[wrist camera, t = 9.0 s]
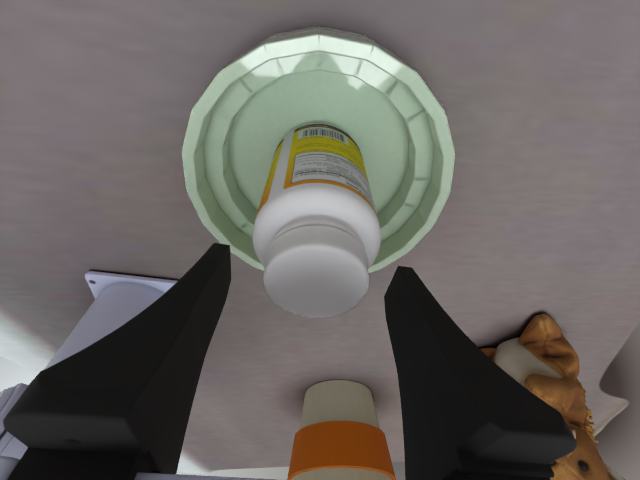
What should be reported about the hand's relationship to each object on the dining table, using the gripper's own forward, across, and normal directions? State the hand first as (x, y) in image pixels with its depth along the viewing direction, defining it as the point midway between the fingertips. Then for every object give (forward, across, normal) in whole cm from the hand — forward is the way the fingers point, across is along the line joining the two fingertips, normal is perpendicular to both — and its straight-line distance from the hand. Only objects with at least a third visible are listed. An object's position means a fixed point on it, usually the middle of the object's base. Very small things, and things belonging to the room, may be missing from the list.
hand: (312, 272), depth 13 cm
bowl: (+9, 0, -1) cm, 9 cm away
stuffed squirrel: (+9, -26, +18) cm, 33 cm away
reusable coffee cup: (+9, -8, +32) cm, 34 cm away
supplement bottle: (+9, 0, -1) cm, 9 cm away
